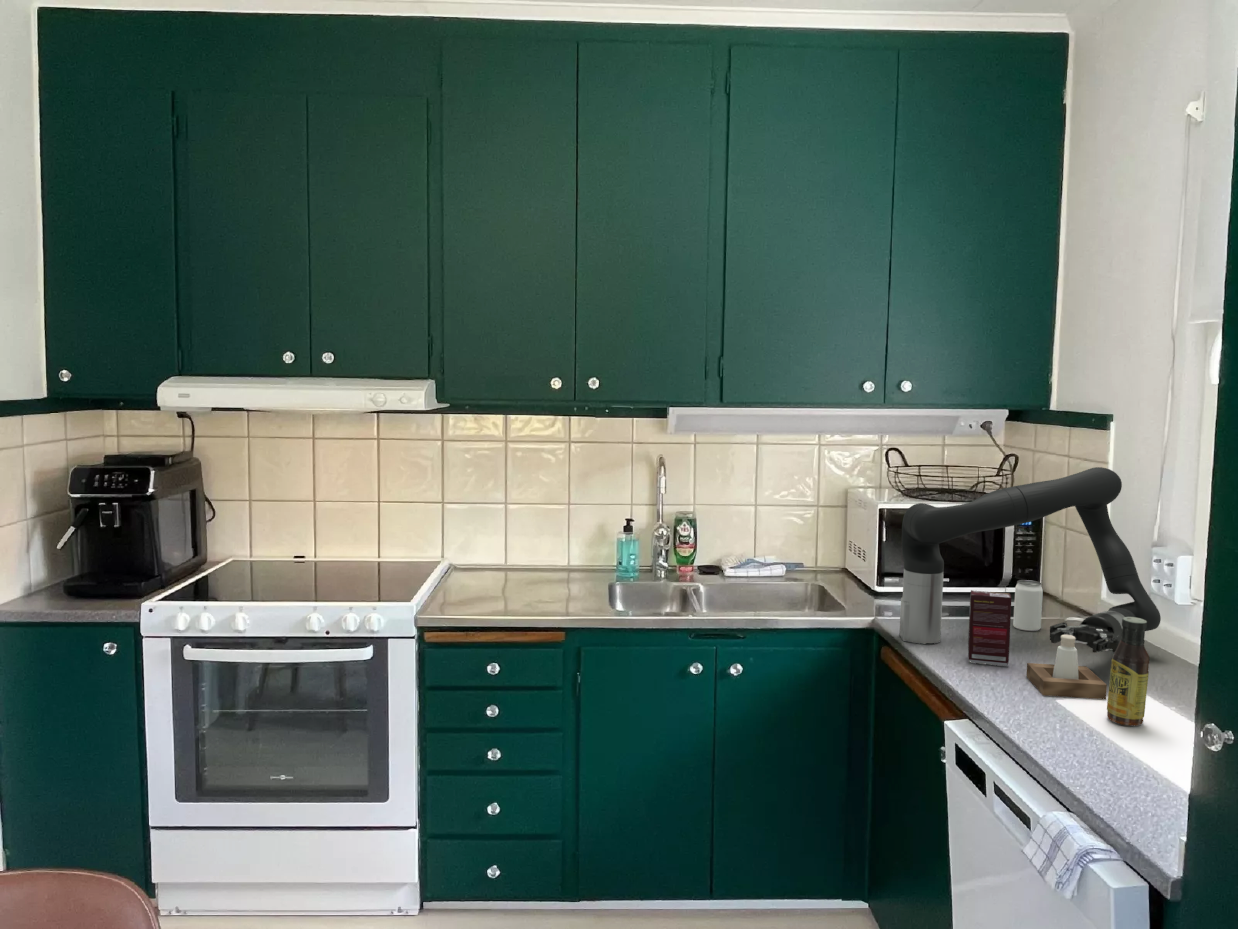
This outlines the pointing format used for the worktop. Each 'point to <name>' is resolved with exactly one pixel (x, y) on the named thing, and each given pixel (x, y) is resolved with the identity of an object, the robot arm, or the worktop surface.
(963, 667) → the worktop surface
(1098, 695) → the socket block
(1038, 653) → the worktop surface
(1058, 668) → the pepper shaker
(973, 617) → the supplement box
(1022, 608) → the can
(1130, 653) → the sauce bottle
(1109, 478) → the robot arm
